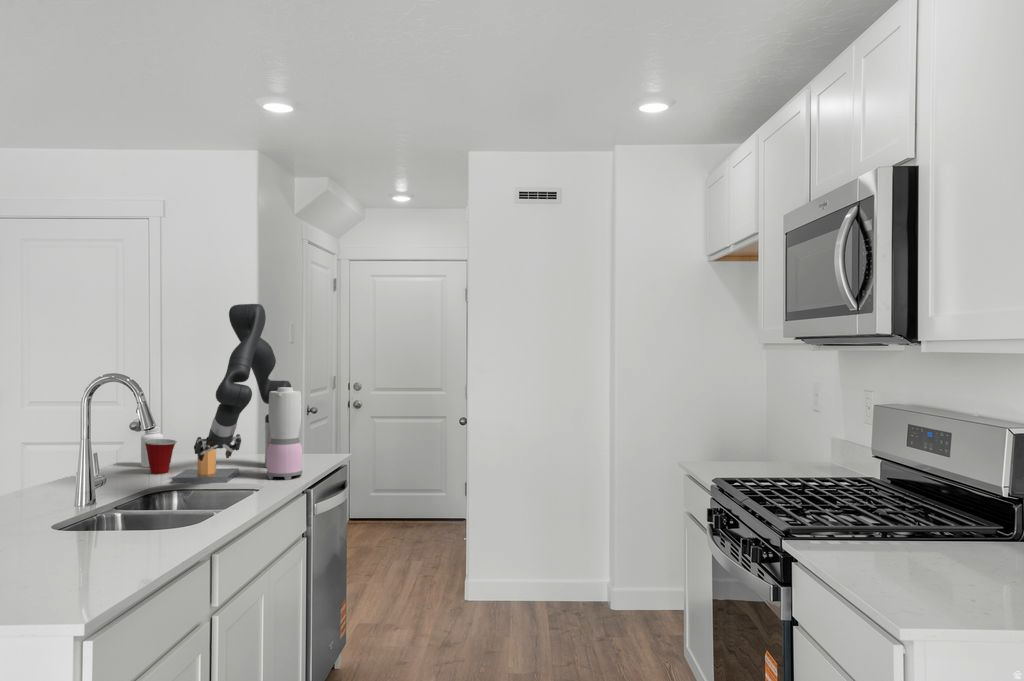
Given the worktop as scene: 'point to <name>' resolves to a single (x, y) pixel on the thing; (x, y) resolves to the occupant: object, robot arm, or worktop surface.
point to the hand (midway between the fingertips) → (213, 457)
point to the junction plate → (205, 476)
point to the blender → (284, 434)
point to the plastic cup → (159, 454)
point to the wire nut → (207, 463)
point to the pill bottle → (149, 435)
